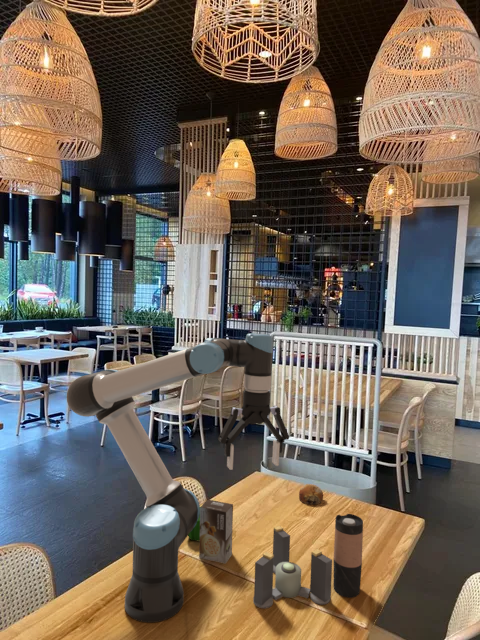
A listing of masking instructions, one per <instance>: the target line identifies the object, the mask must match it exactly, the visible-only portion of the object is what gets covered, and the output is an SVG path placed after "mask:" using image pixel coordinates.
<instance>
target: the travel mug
mask: <svg viewBox="0 0 480 640" xmlns="http://www.w3.org/2000/svg"><path fill="white" fill-rule="evenodd" d="M334 525H335V526H334V543H333V545H334V546H333V590H334V592H336V593H335V594H338V596H341V597H344V598H350V599H351V598H355V597H358V596H359V594H360V593H361V581H362V568H363V567H362V566H363V542H364V541H363V537H364V534H363V531H364V520H363V519H362V518H361V517H360V516H358V515H356V514H353V513H347V514H345V515H341V514H337V515H336V516H335V522H334Z"/></svg>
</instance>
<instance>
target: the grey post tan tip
mask: <svg viewBox="0 0 480 640" xmlns="http://www.w3.org/2000/svg"><path fill="white" fill-rule="evenodd" d="M310 555H311V559H310V560H311V562H310V586H309V589H310V594H309V596H310V600H311V602H313V603H315V605H316V604H317V605H321V606H322V605H324V606H325V605H328V604H329V603H330V602H331V599H332V597H331V596H332V575H333V574H332V573H333V572H332V571H333V559H331V558H329V557H328V556H326V555H325V554H323V551H322V550H320V549H318V548H316V549H315V550H312V551H311V554H310Z"/></svg>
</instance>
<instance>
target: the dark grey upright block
mask: <svg viewBox="0 0 480 640" xmlns="http://www.w3.org/2000/svg"><path fill="white" fill-rule="evenodd" d="M273 562H274V555H273V553H271V552H268V551H265V552H264V553H263V554H262V556H261V557H260V558H259V559H258V560H256V561H255V563H254V587H253V588H254V589H253V591H254V592H253V598H252V599H253V601H252V602H253V605H254V606H256V608H259V609H269V608H271V607H272V605H273V603H274V599H273V597H272V592H273V589H274V587H273V585H274V573H273Z"/></svg>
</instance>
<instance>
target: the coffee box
mask: <svg viewBox="0 0 480 640" xmlns="http://www.w3.org/2000/svg"><path fill="white" fill-rule="evenodd" d="M233 515H234V504H232V503H228V502H223V501H217V500H212V499H207V500H205V501H204V502H203V504H202V505H201V506H200V541H198V543H199V550H198V551H199V552H198V553H199V554H198V556H199V557H198V558H199V559H203V560H206V561H212V562H217V563H221V564H224V565H225V564H227V563H228V561H229V560H230V558H231V557H232V555H233V525H234V524H233V520H234V519H233V517H234V516H233Z"/></svg>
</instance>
